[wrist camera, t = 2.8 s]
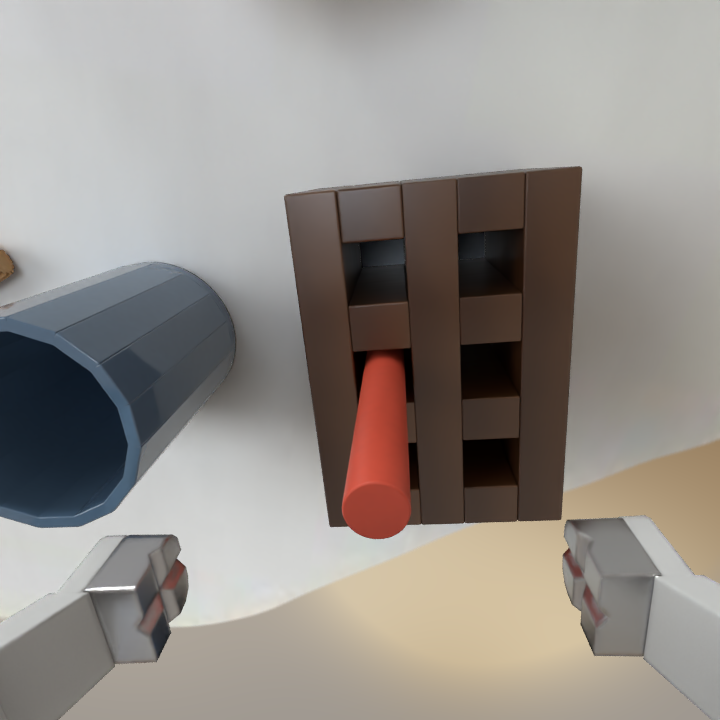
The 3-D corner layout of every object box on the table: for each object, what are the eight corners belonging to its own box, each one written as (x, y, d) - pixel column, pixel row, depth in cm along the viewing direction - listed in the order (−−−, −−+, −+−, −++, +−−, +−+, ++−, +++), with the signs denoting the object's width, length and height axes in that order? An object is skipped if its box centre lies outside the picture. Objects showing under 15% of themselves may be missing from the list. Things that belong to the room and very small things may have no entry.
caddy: (523, 168, 23) (583, 165, 16) (517, 428, 28) (562, 520, 20) (318, 188, 24) (283, 194, 17) (346, 436, 29) (329, 527, 21)
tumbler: (220, 255, 26) (103, 309, 15) (247, 398, 28) (163, 524, 18) (73, 268, 26) (-134, 327, 16) (113, 406, 29) (-40, 531, 19)
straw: (401, 304, 26) (409, 480, 11) (403, 333, 26) (413, 539, 11) (371, 306, 26) (337, 483, 11) (373, 335, 27) (345, 541, 12)
